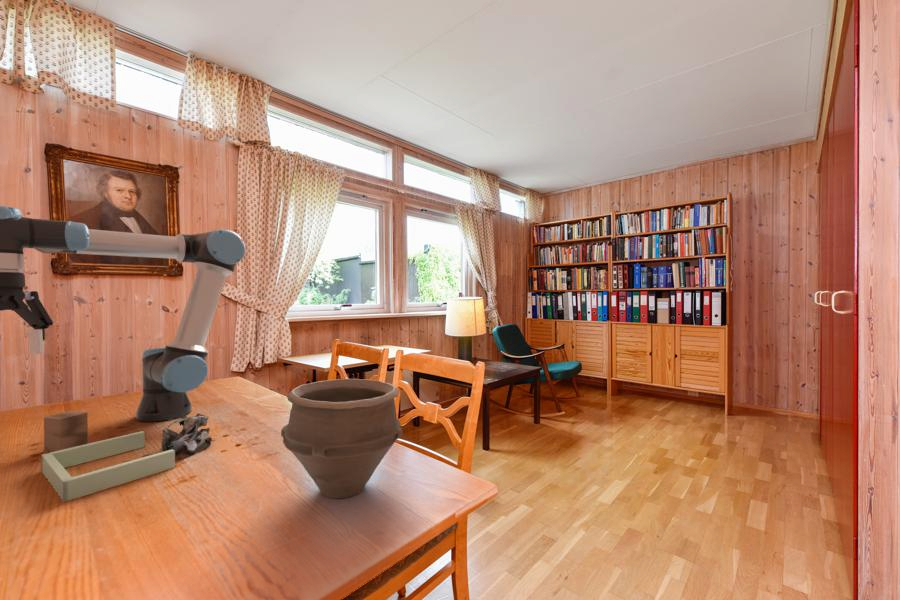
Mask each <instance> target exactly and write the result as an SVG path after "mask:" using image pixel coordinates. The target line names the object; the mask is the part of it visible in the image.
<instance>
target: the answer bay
mask: <svg viewBox="0 0 900 600" xmlns="http://www.w3.org/2000/svg"><path fill="white" fill-rule="evenodd" d="M145 433H146V431H143V430H141V431H137V432H132V433H128V434H123V435H120V436H115V437H110V438H107V439H103V440H98V441H94V442H90V443H89V442H88V444H85V445H80V446H76V447H72V448H68V449H63V450H59V451H55V452H46V453H43V454H41V473H42V475H43V476H44V475H45V476H44V477H45V478H47V479H48V480H47V479H46V480H47V481H48V483H49V482H50V483H51V484H50V483H49V484H50V486H51V485H52V486H53V487H52V486H51V487H52V488H53V490H54V489H55V490H54V491H55V492H57V493H58V494H57V493H56V494H57V495H58V497H59V496H60V497H59V498H60V500H61V499H62V500H61V501H62V503H66V502H69V501H72V499H73V500H76V499H79V498H82V497H85V496H89V495H91V494H94V493H98V492H100V491H101V492H102V491H104V490H107V489H110V488H113V487H114V488H115V487H117V486H120V485H123V484H126V483H129V482H133V481H135V480H139V479H142V478H145V477H149V476H153V475H155V474H158V473H159V474H160V473H161V472H165V471H168V470H171V469H174V468H175V467H176V451H175V450H173V449H171V450H168V451H164V452H162V451H161V452H158V453H154V454H150V455H145V456H143V457H140V458H135V459H133V460H130V461H125V462H121V463H118V464H115V465H111V466H107V467H103V468H100V469H96V470H94V471H90V472H86V473H82V474H79V475H76V476H71V474H70V473H69V472H68V470H66V468H69V467H73V466H77V465H82V464H85V463H88V462H92V461H97V460H99V459H105V458H107V457H112V456H115V455H118V454H122V453H127V452H130V451H134V450H139V449H141V448H145V447H146V444H145V442H146V441H145V440H146V439H145Z"/></svg>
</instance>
